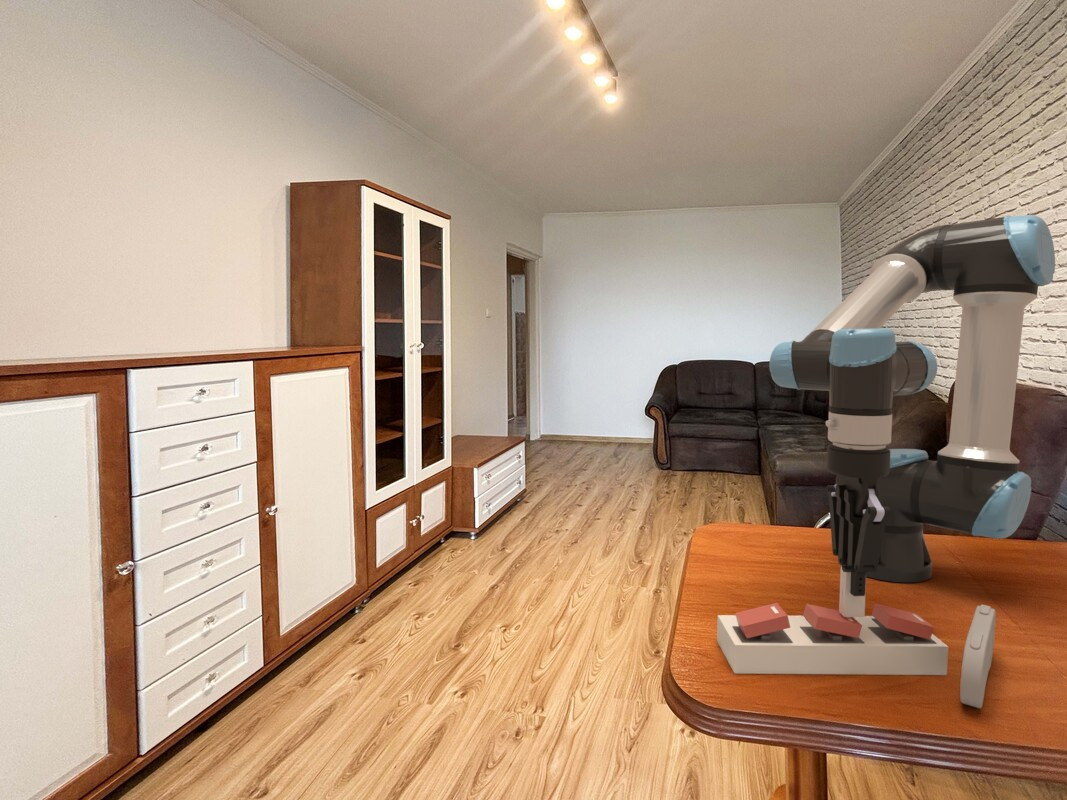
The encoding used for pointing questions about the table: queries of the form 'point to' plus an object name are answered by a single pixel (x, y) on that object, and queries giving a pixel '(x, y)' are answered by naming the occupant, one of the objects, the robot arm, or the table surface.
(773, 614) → the rocker
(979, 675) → the grey rounded slab
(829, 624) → the block
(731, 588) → the table surface
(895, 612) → the block
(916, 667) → the rocker switch panel
